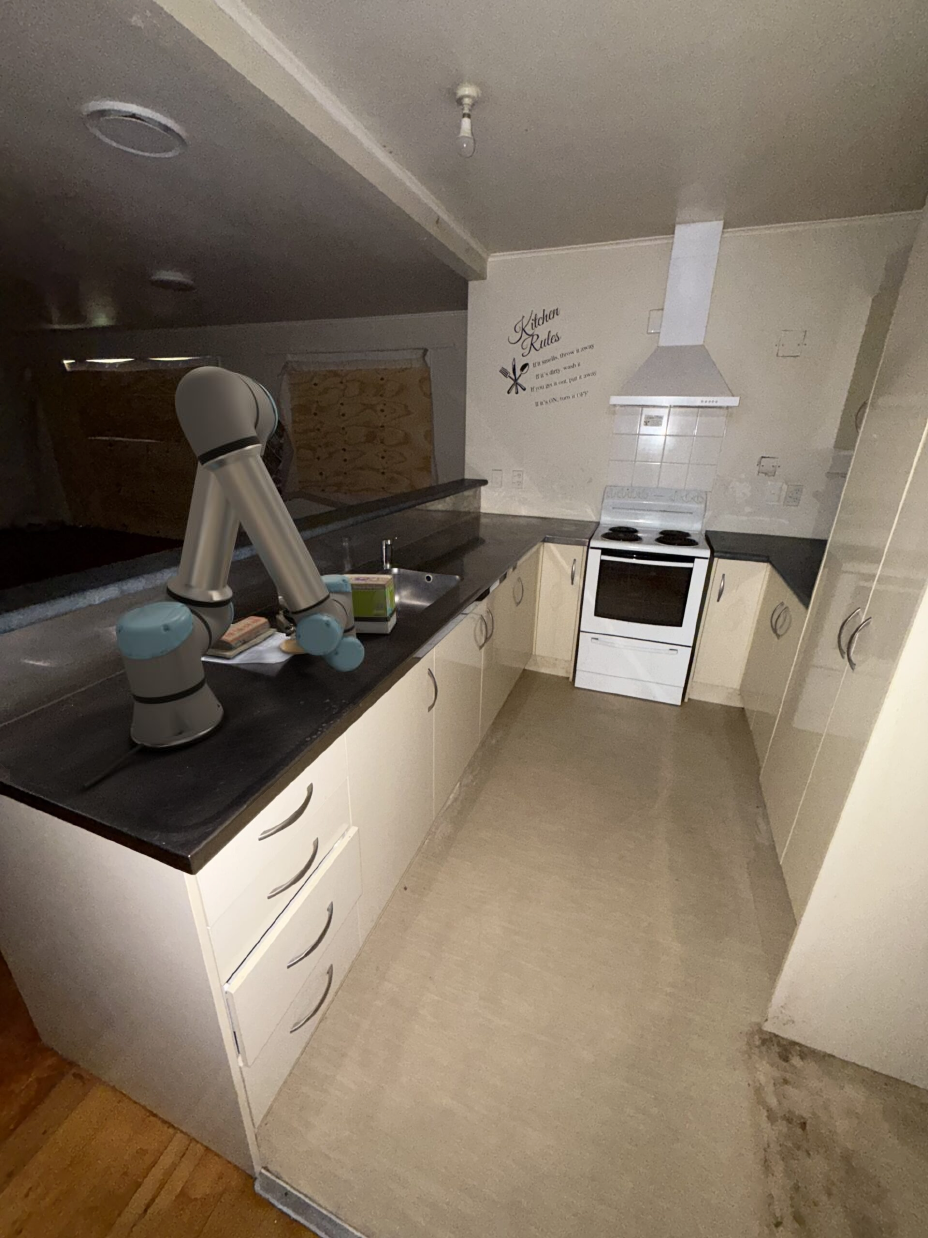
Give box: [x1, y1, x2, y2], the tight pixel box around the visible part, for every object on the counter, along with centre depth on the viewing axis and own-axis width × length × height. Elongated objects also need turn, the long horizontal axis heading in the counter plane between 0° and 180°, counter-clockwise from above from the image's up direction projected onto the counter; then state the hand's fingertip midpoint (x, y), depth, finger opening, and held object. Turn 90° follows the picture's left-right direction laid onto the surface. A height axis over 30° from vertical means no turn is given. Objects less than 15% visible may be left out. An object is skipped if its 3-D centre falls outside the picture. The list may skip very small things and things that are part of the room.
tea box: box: [342, 573, 397, 634], centre depth 137 cm, size 15×10×15 cm
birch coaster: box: [280, 638, 308, 655], centre depth 128 cm, size 11×11×1 cm
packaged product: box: [204, 615, 278, 659], centre depth 128 cm, size 18×5×10 cm
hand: (292, 606), depth 128 cm, fingers closed on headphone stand, 5 cm apart
